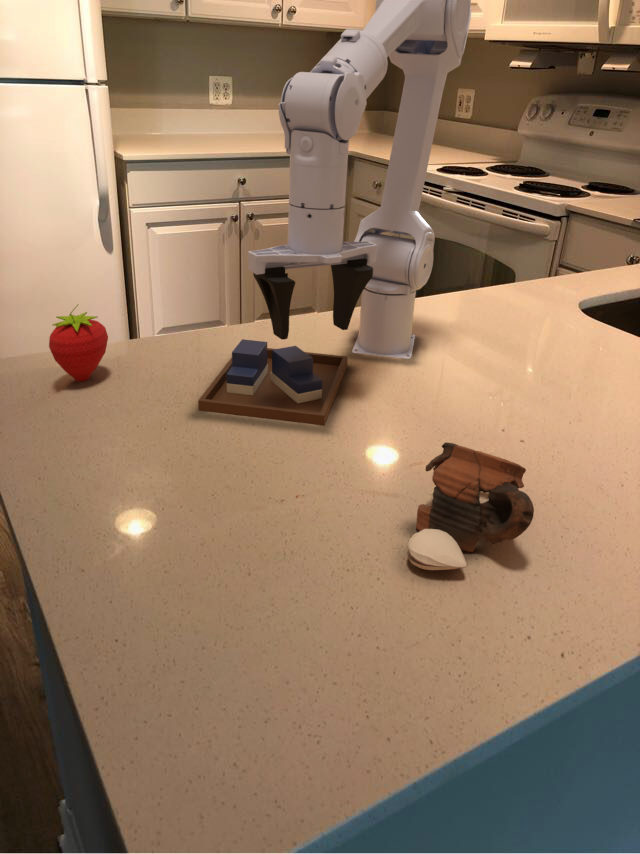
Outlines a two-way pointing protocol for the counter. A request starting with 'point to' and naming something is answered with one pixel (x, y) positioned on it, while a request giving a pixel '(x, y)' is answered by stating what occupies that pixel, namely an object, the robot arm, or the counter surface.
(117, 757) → the counter surface
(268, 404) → the brown serving tray
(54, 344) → the strawberry
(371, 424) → the counter surface
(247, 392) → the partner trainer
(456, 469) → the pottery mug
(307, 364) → the trainer
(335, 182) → the robot arm
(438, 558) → the white teardrop shell
